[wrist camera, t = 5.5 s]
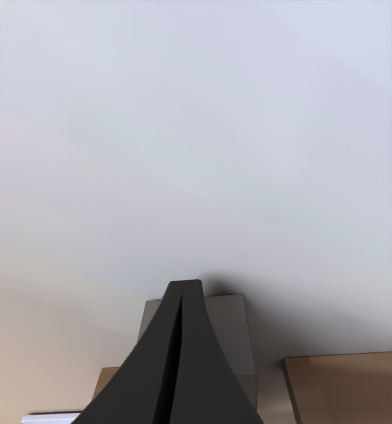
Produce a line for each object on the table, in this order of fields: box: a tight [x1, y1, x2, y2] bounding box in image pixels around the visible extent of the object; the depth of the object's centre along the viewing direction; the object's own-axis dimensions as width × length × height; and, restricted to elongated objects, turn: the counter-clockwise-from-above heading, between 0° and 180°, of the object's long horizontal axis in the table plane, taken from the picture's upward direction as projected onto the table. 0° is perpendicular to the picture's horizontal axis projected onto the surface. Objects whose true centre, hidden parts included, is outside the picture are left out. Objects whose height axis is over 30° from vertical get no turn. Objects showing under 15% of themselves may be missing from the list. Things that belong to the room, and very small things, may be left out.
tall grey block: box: [137, 294, 257, 412], centre depth 15 cm, size 10×5×4 cm, turn 7°
